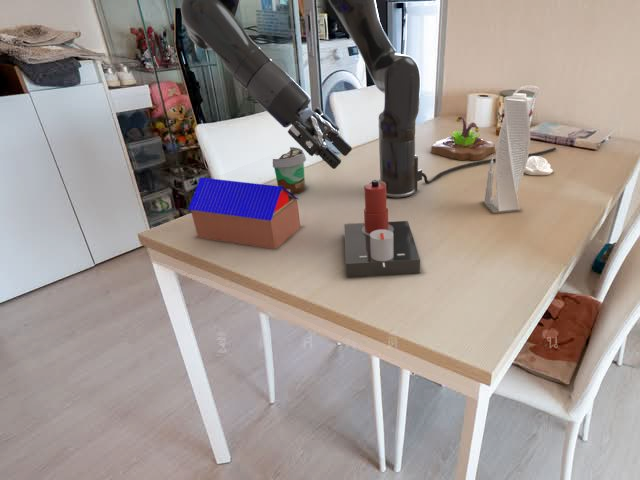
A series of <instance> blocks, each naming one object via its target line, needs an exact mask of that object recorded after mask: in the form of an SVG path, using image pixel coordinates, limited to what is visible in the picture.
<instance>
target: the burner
mask: <svg viewBox="0 0 640 480" xmlns="http://www.w3.org/2000/svg"><path fill="white" fill-rule="evenodd" d="M388 230H389V231H391V232H393V231H394V228H393V227H392V226H391V225H389V224H388ZM362 233H363V234H365V235H367V236H370V233H367V232H366V231H365V226H364V227H363V228H362Z"/></svg>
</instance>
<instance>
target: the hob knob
mask: <svg viewBox="0 0 640 480" xmlns="http://www.w3.org/2000/svg"><path fill="white" fill-rule="evenodd" d="M370 251H371V258H372V259H373V260H376V261H388V260H390V259H392V258H393V257H394V236H393V232H391V231H389V230H383V229H381V230H375V231H373V232H371V233H370Z"/></svg>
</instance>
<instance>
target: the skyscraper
mask: <svg viewBox="0 0 640 480" xmlns="http://www.w3.org/2000/svg"><path fill="white" fill-rule="evenodd" d="M529 88H530V89H536V90H535V91H534V94H533V96H532V97H530V96H529V97H528V96H527V93H524V92H520V91H521V90H524V89H529ZM539 91H540V87H539V86H538V85H533V84H531V85H530V84H527V85H523V86H520V87H518V88H516V90H515V91H514V92H513V93H512V95H507V96H504V98H503V110H504V116H503V120H502V122H501V126H500V130H499V134H498V139H497V143H496V150H495V151H496V152H495V159H496V161H495V172H494V171H493V170H494V161H493V159H494V153H492V154H491V159H492V160H491V161H490V162H489V170H488V171H487V179H486V188H485V194H484V201H482V204H483V205H484V206H485V208H487V209H488V210H489V211H490V212H491V213H492V214H493V215H494V214H502V213H503V214H504V213H514V212H515V213H516V212H520V211H521V208H520V203H519V197H518V190H519V187H520V185H521V182H522V180H523V176H524V174H525V173H524V171H525V168H526V164H527V160H528V158H529V157H528V155H529V154H530V149H531V148H530V147H531V121H530V112H531V110H532V107H533V106H534V105H533V104H534V102H535V100H536V97H537V95H538V92H539ZM494 173H495V186H496V187H495V189H496V192H495V194H494V197H493V198H492V195H493V182H494Z"/></svg>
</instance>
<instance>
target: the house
mask: <svg viewBox="0 0 640 480" xmlns="http://www.w3.org/2000/svg"><path fill="white" fill-rule="evenodd" d="M298 200H299V198H297V196H295V194H294V195H292V194H291V193H290V192H289V191H287V190H286V189H285V188H283V187H281V186H278V185H271V184H261V183H254V182H253V183H252V182H244V181H235V180H228V179H217V178H208V177H199V180H198V182H197V186H196V188H195V191H194V193H193V195H192V198H191V201H190V204H189V206H188V209H187V210H188V211H190V213H191V217H192V220H193V224H194V228H195V231H196V234H197V238H199V239H206V240H214V241H220V242H226V243H233V244H239V245H246V246H252V247H258V248H259V247H260V248H267V249H273V250H276V249H277V248H279V247H280V246H281V245H282V244H284V243H285V242H286V241H287V240H288V239H289V238H290V237H292V236H293V235H294V234H295V233H296V232H297V231H299V230H300V229H301V228H302V227H301V220H300V212H299V205H298V204H299V203H298Z"/></svg>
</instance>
